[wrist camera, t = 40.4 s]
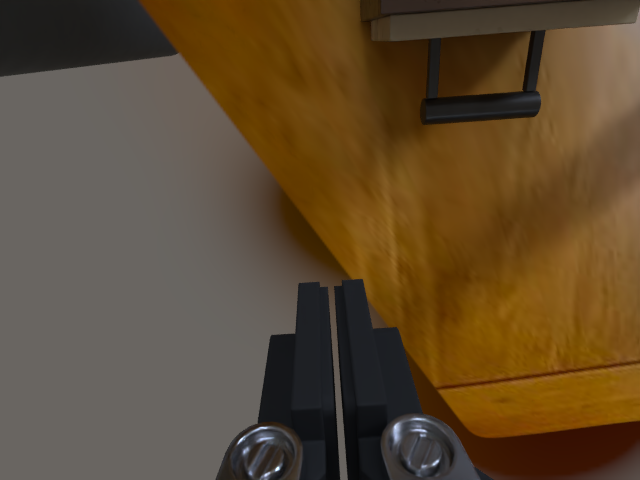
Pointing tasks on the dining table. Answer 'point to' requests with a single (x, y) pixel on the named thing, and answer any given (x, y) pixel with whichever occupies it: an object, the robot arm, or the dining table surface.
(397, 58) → the dining table surface
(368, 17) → the cabinet
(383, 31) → the drawer
